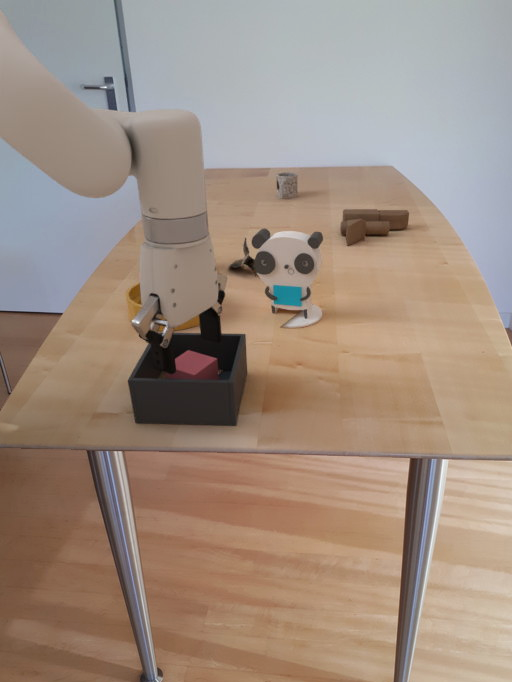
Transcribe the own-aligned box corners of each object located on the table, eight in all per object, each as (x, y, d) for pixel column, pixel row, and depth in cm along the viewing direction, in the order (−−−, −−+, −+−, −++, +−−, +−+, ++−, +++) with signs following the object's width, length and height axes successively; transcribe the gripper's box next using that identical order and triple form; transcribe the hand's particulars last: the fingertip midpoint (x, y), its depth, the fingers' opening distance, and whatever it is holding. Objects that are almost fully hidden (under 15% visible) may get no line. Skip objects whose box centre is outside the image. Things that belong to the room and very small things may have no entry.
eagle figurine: (277, 265, 118) (251, 248, 123) (265, 243, 112) (239, 226, 117) (252, 289, 117) (227, 271, 122) (239, 269, 111) (214, 250, 116)
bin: (135, 423, 71) (127, 380, 68) (160, 371, 82) (154, 332, 79) (236, 426, 70) (233, 382, 67) (247, 373, 81) (245, 333, 78)
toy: (197, 407, 73) (194, 375, 70) (169, 396, 75) (164, 365, 73) (219, 389, 77) (217, 358, 74) (191, 380, 79) (188, 349, 76)
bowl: (179, 343, 90) (175, 315, 87) (111, 323, 97) (106, 297, 94) (231, 309, 101) (230, 284, 99) (167, 293, 108) (164, 269, 105)
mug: (279, 193, 180) (279, 172, 177) (299, 194, 179) (299, 172, 175) (271, 200, 172) (271, 178, 169) (292, 201, 171) (292, 179, 167)
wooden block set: (339, 205, 144) (408, 205, 143) (338, 226, 147) (406, 226, 146) (343, 222, 129) (420, 222, 129) (342, 246, 132) (417, 246, 132)
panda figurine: (247, 323, 96) (243, 240, 88) (266, 298, 105) (264, 221, 97) (314, 331, 93) (316, 245, 85) (327, 304, 102) (330, 225, 95)
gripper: (196, 206, 72) (206, 324, 81) (97, 241, 59) (122, 376, 68) (243, 214, 69) (248, 335, 77) (150, 252, 56) (168, 393, 65)
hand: (189, 354), depth 73 cm, fingers open, 9 cm apart
